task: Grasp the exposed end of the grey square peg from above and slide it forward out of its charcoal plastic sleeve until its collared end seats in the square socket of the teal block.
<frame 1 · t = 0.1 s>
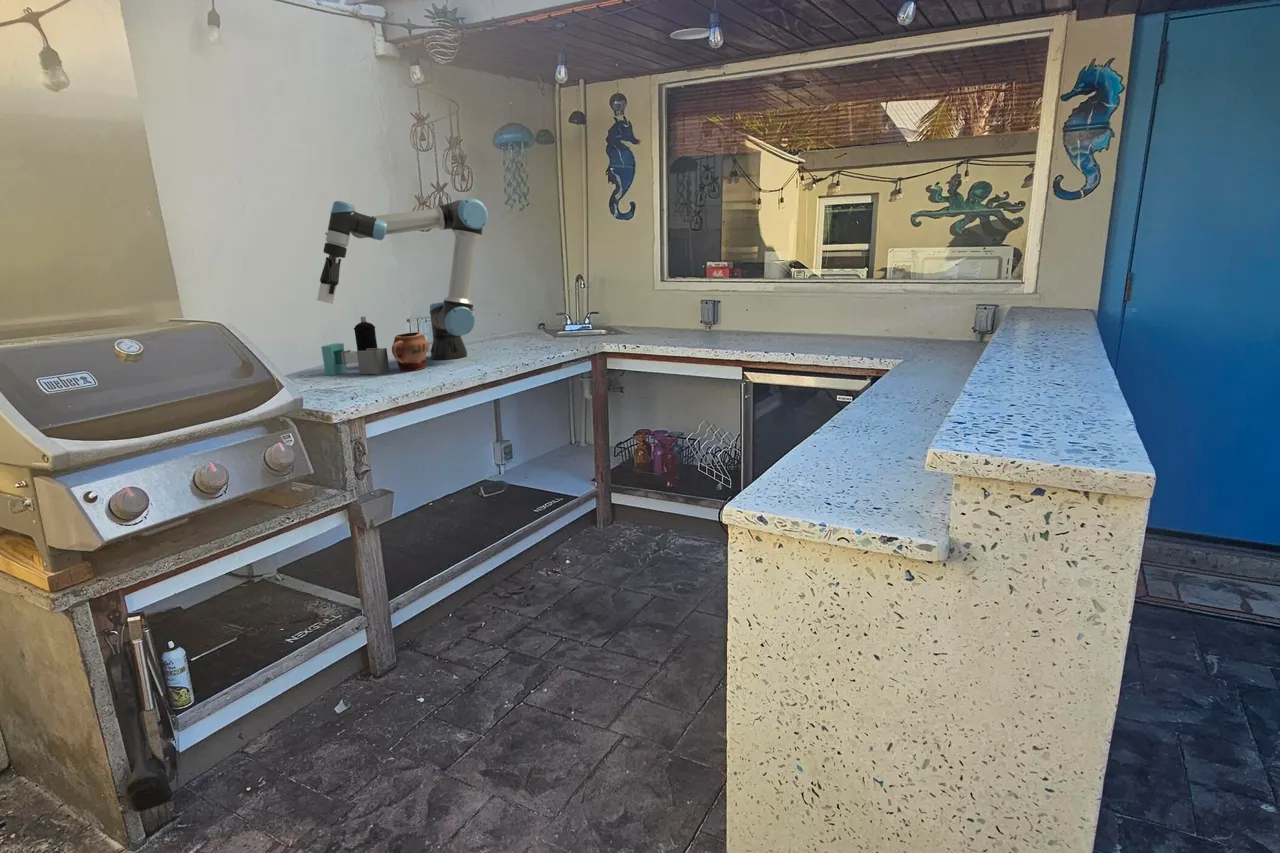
hand: (324, 302, 267), 28 cm above the worktop, tool tilted 20°, fingers open, 13 cm apart
decorative planter: (411, 370, 282), on the worktop
grey square peg: (362, 357, 278), point 6 cm above the worktop, slide at 0.0 cm
aerosol can: (369, 367, 294), on the worktop
sleeve: (374, 373, 278), on the worktop
socket block: (336, 373, 282), on the worktop
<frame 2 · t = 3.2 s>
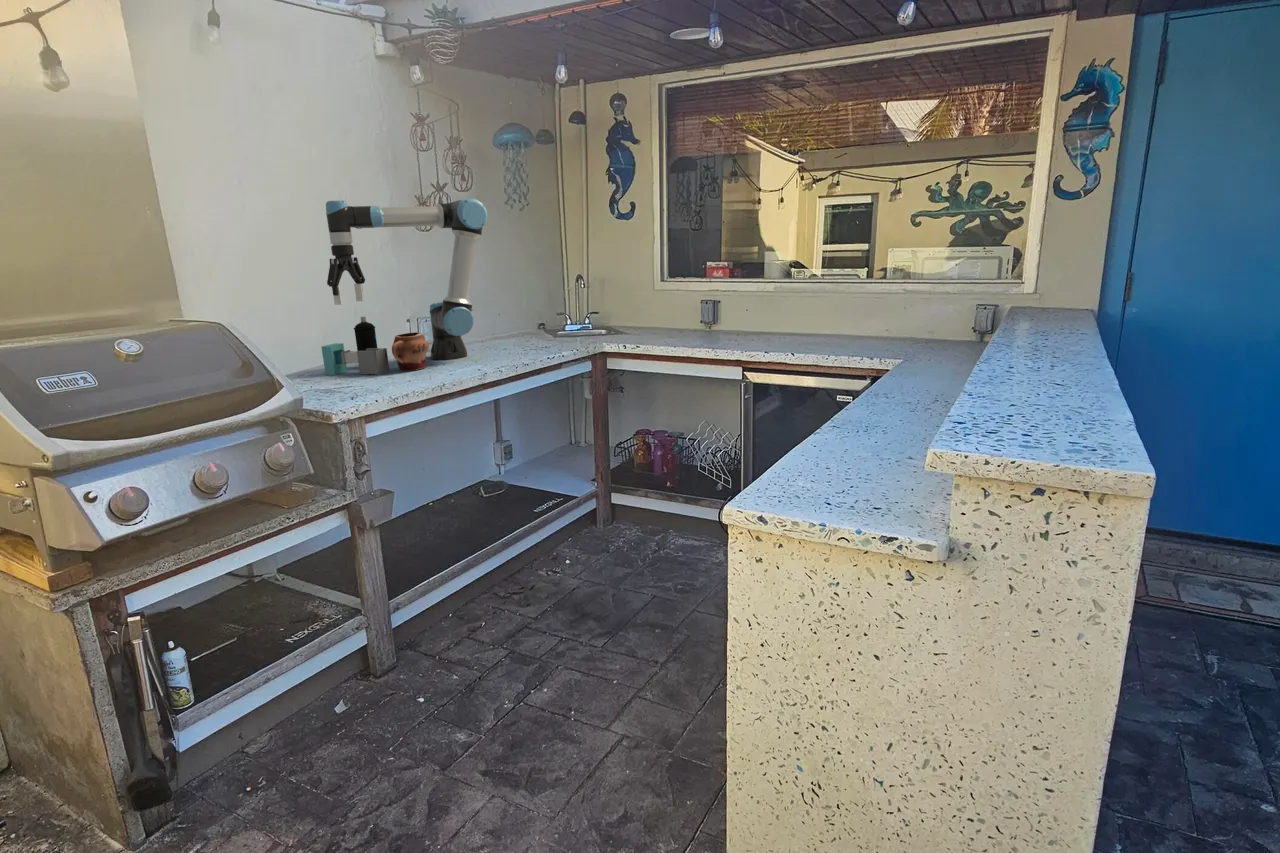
hand: (349, 302, 273), 27 cm above the worktop, tool pointing down, fingers open, 13 cm apart
nothing on the worktop moved.
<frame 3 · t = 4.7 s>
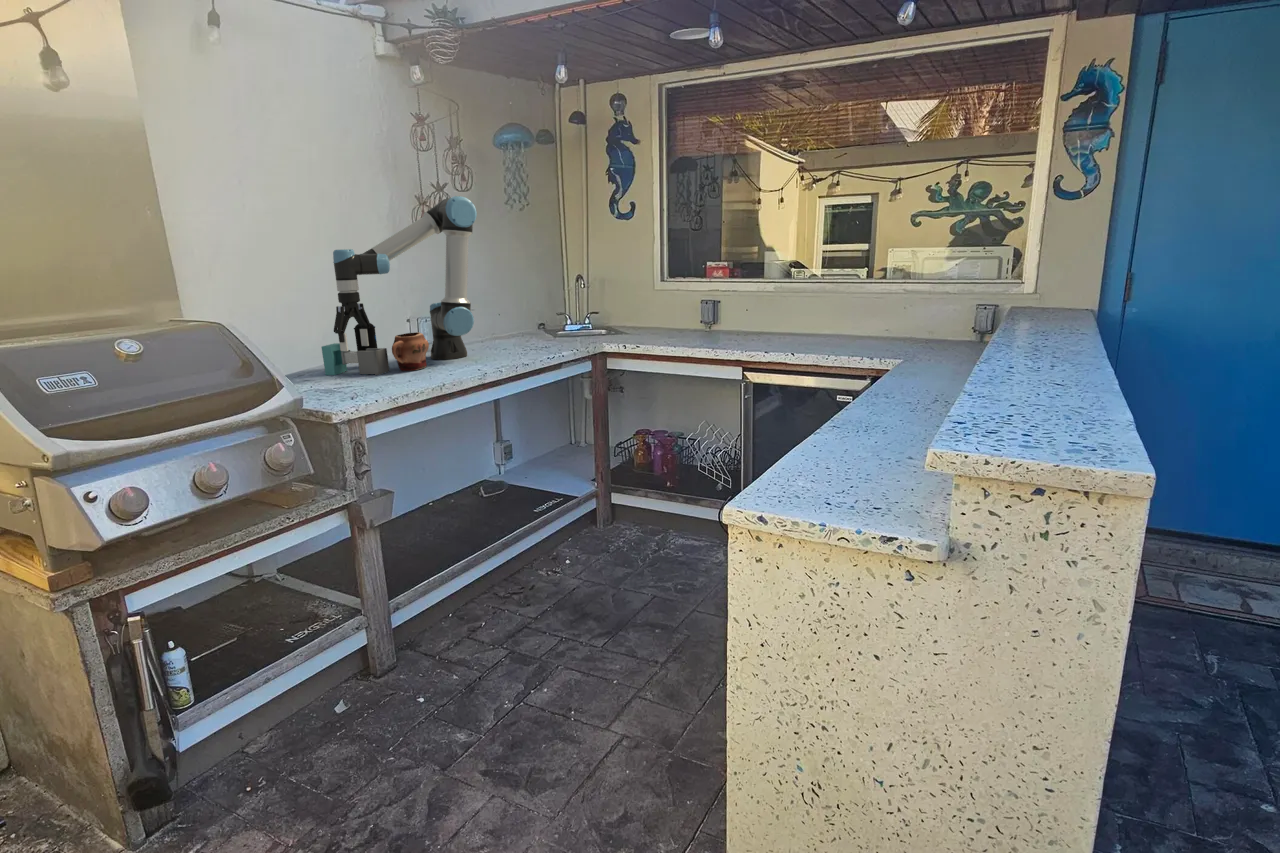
hand: (355, 348, 277), 10 cm above the worktop, tool pointing down, fingers open, 13 cm apart
nothing on the worktop moved.
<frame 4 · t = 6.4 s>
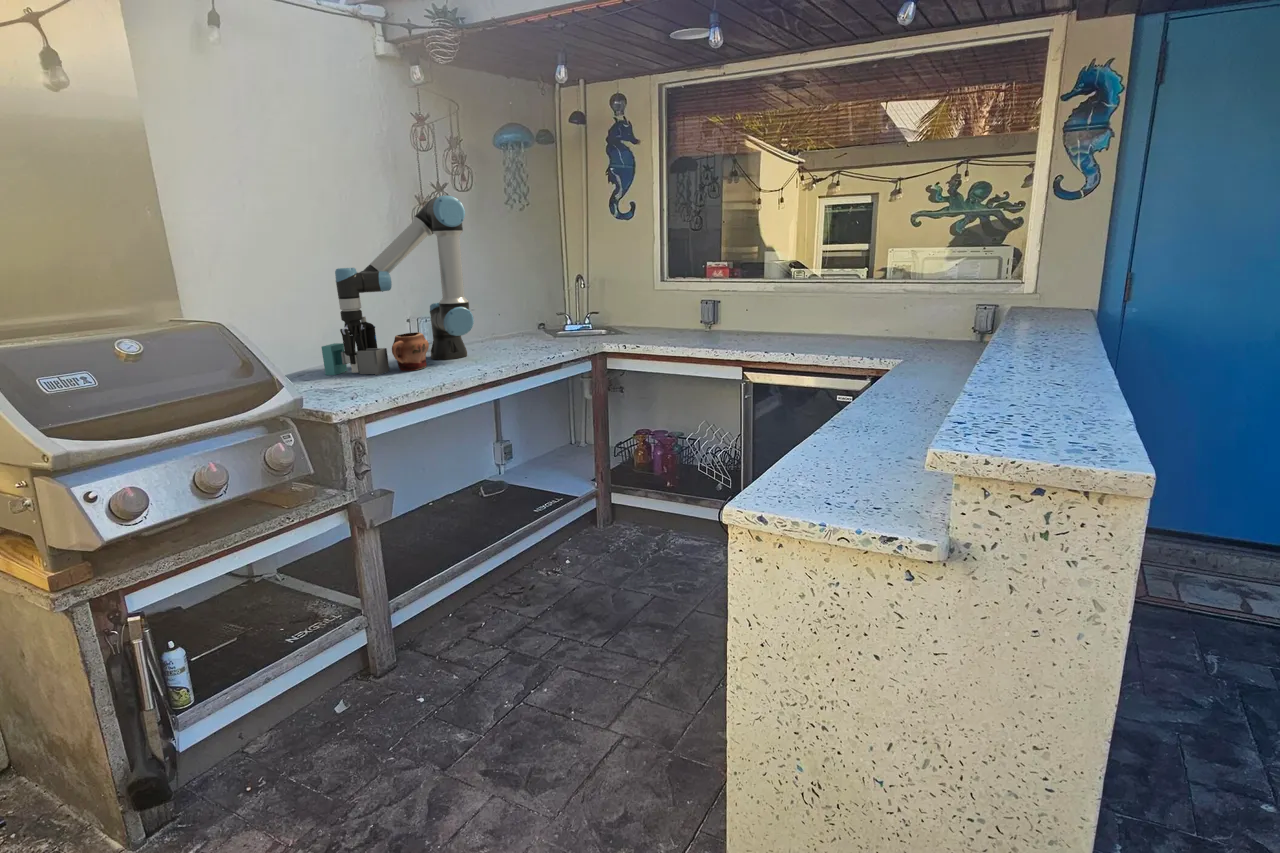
hand: (359, 371, 279), 1 cm above the worktop, tool pointing down, fingers closed on grey square peg, 4 cm apart
grey square peg: (362, 357, 278), point 6 cm above the worktop, slide at 0.0 cm, touching gripper
everything else where it was.
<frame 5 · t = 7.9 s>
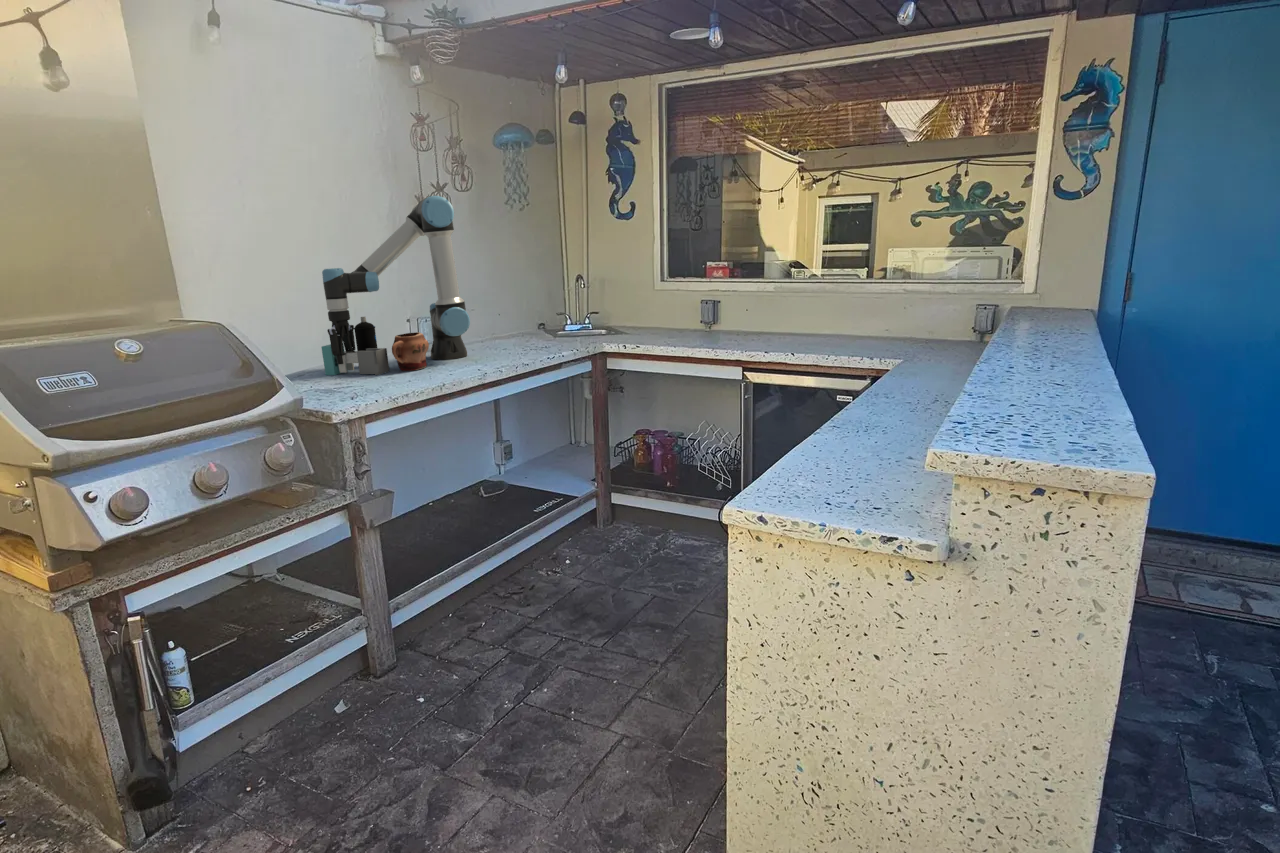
hand: (347, 371, 280), 1 cm above the worktop, tool pointing down, fingers closed on grey square peg, 4 cm apart
grey square peg: (349, 357, 279), point 6 cm above the worktop, slide at 5.3 cm, touching gripper
everything else where it was.
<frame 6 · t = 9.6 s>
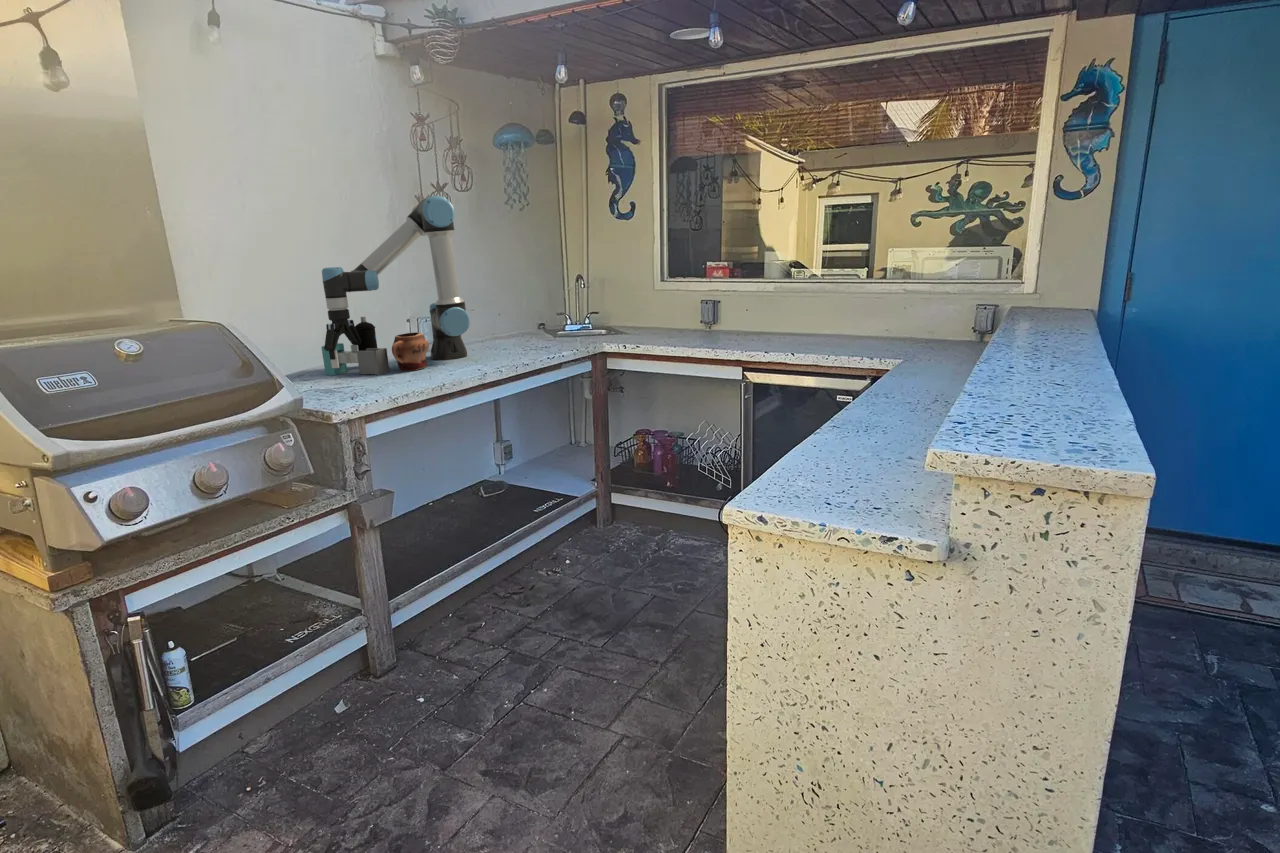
hand: (346, 364, 280), 3 cm above the worktop, tool pointing down, fingers open, 13 cm apart
grey square peg: (349, 357, 279), point 6 cm above the worktop, slide at 5.4 cm
everything else where it was.
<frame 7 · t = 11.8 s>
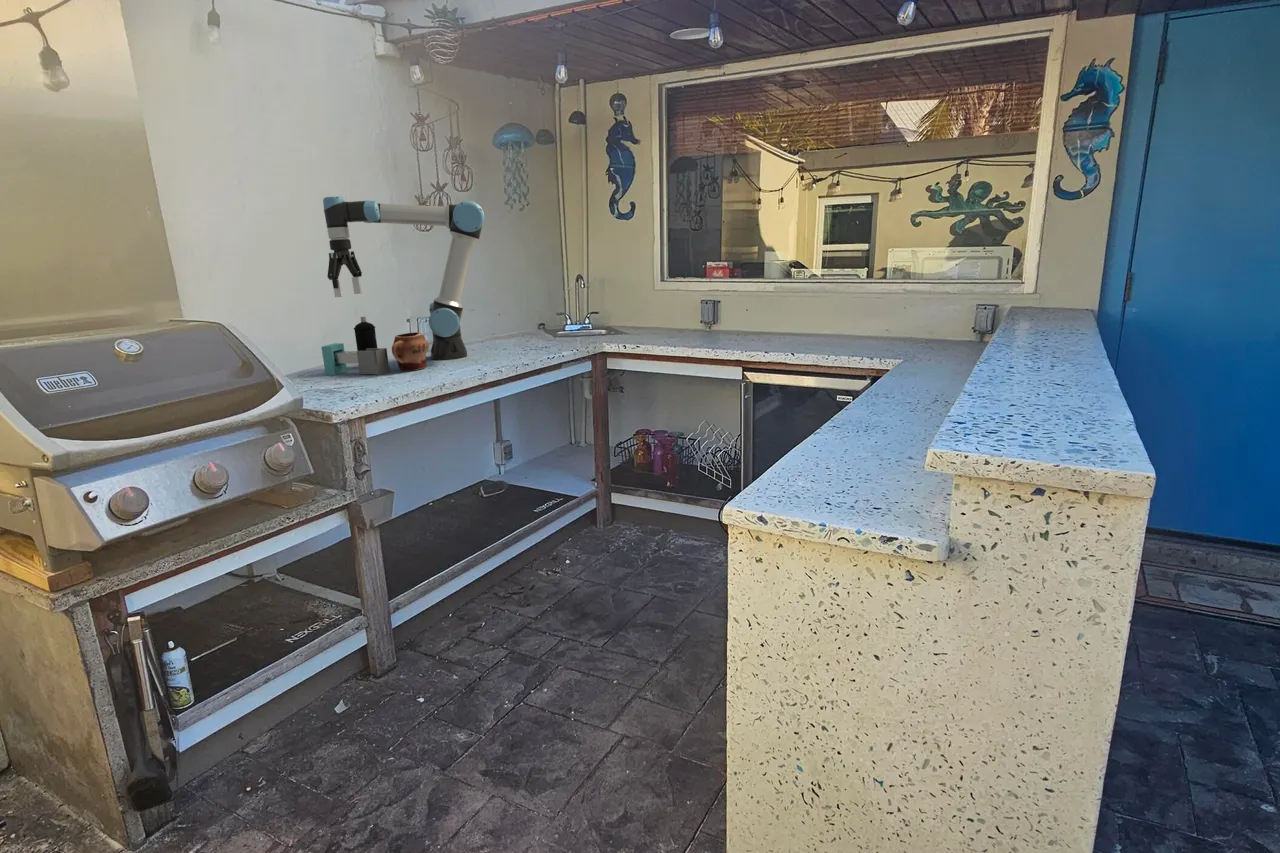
hand: (348, 295, 283), 29 cm above the worktop, tool pointing down, fingers open, 13 cm apart
nothing on the worktop moved.
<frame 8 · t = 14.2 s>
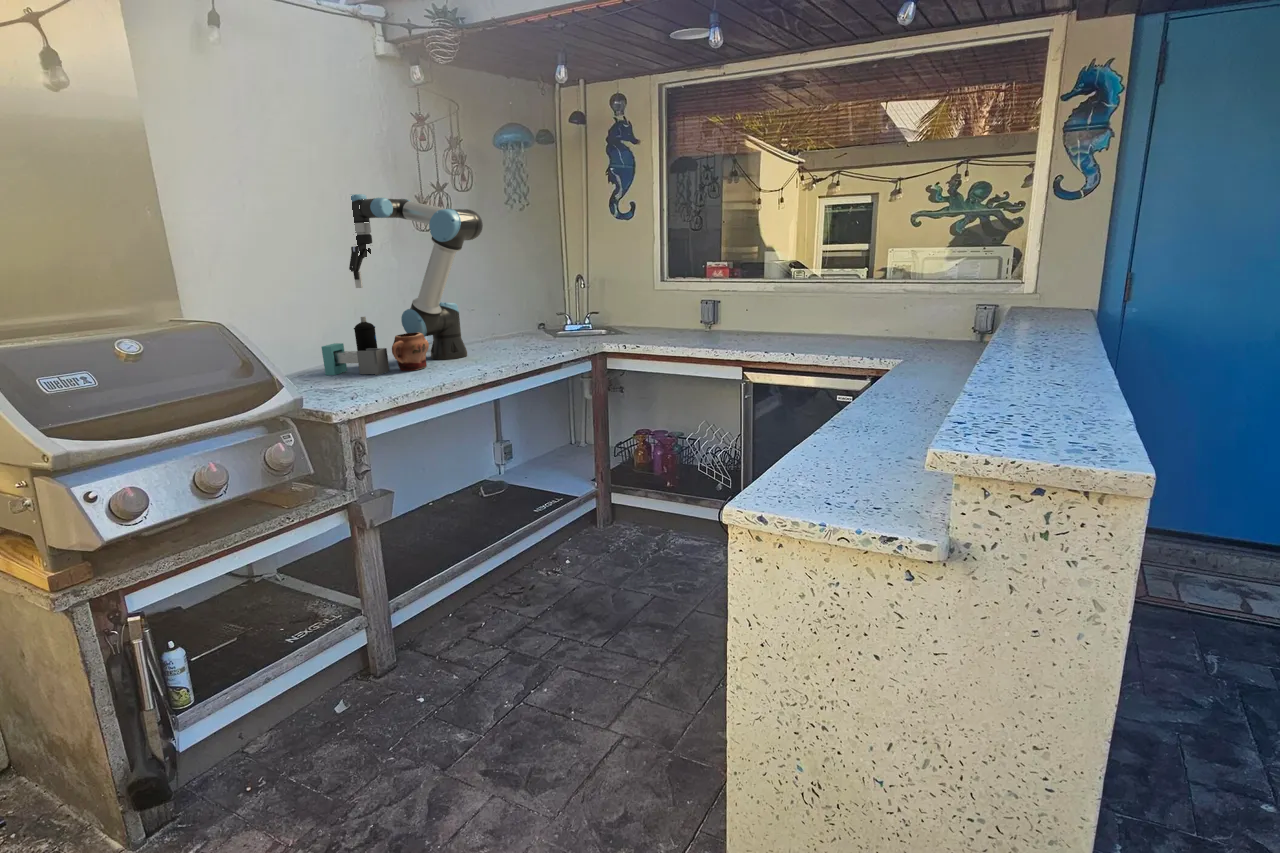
hand: (368, 286, 303), 31 cm above the worktop, tool pointing down, fingers open, 13 cm apart
nothing on the worktop moved.
at the end: grey square peg slide at 5.4 cm; the gripper is holding nothing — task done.
